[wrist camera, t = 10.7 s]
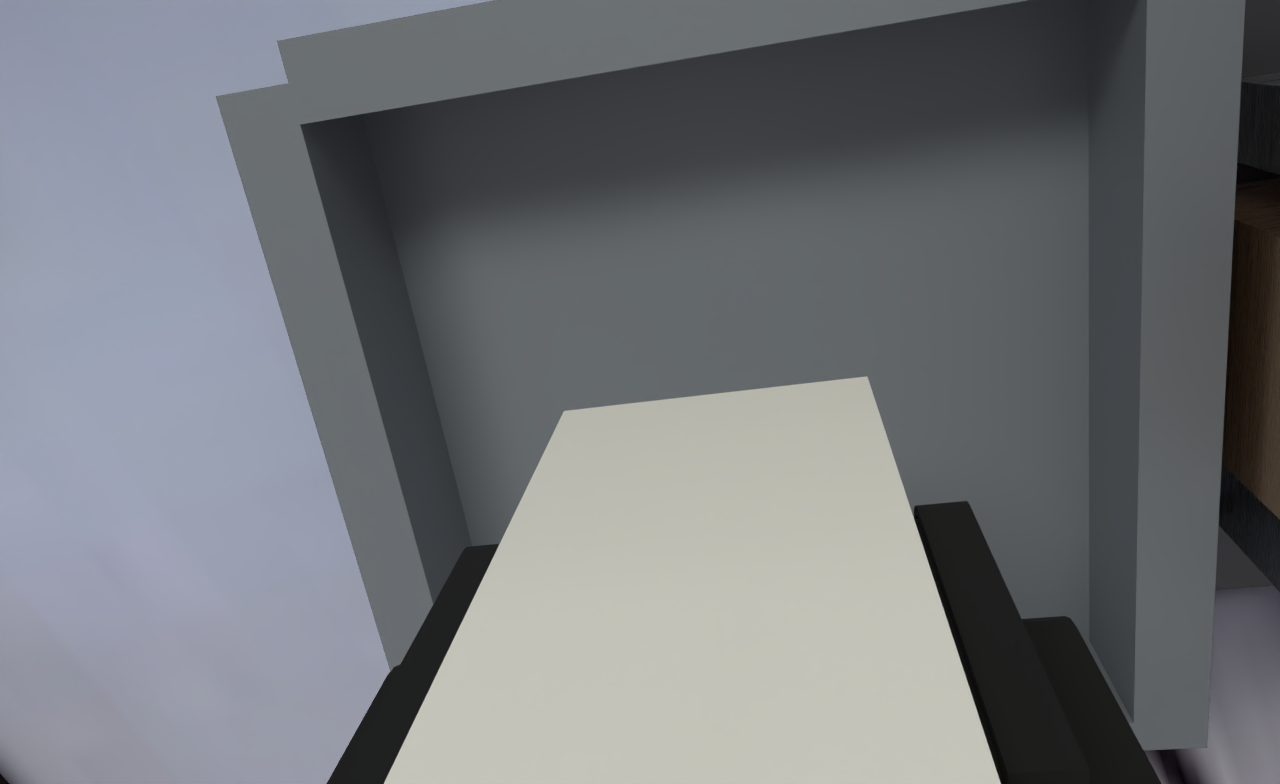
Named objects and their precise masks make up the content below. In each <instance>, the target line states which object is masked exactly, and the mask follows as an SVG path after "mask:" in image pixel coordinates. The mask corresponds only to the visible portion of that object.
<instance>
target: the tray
mask: <svg viewBox="0 0 1280 784" xmlns="http://www.w3.org/2000/svg"><path fill="white" fill-rule="evenodd" d="M1244 18H1245V0H494V1H489V2H483V3H478V4H473V5H467V6H462V7H457V8H451V9H446V10H441V11H435V12H430V13H425V14H419V15H414V16H409V17H403V18H398V19H393V20H387V21H382V22H377V23H371V24H366V25H361V26H355V27H350V28H344V29H339V30H334V31H328V32H323V33H318V34H312V35H307V36H302V37H296V38H291V39H286V40H280V41H277V43H278V47H279V50H280V54H281V57H282V61H283V65H284V68H285V72H286V75H287V79H288V84H283V85H277V86H272V87H266V88H260V89H255V90H249V91H244V92H238V93H232V94H227V95H221V96H216V99H217V102H218V105H219V109H220V112H221V115H222V118H223V122H224V125H225V128H226V132H227V135H228V138H229V141H230V145H231V148H232V151H233V155H234V158H235V161H236V164H237V168H238V171H239V174H240V178H241V181H242V184H243V188H244V191H245V194H246V197H247V201H248V204H249V207H250V211H251V214H252V217H253V220H254V224H255V227H256V230H257V234H258V237H259V240H260V243H261V247H262V250H263V253H264V257H265V260H266V263H267V266H268V270H269V273H270V276H271V280H272V283H273V286H274V290H275V293H276V296H277V299H278V303H279V306H280V309H281V313H282V316H283V319H284V322H285V326H286V329H287V332H288V336H289V339H290V342H291V345H292V349H293V352H294V355H295V359H296V362H297V365H298V368H299V372H300V375H301V378H302V382H303V385H304V388H305V392H306V395H307V398H308V401H309V405H310V408H311V411H312V415H313V418H314V421H315V424H316V428H317V431H318V434H319V438H320V441H321V444H322V447H323V451H324V454H325V457H326V461H327V464H328V467H329V471H330V474H331V477H332V480H333V484H334V487H335V490H336V494H337V497H338V500H339V503H340V507H341V510H342V513H343V517H344V520H345V523H346V526H347V530H348V533H349V536H350V540H351V543H352V546H353V549H354V553H355V556H356V559H357V563H358V566H359V569H360V573H361V576H362V579H363V582H364V586H365V589H366V592H367V596H368V599H369V602H370V605H371V609H372V612H373V615H374V619H375V622H376V625H377V628H378V632H379V635H380V638H381V642H382V645H383V648H384V651H385V655H386V658H387V661H388V665H389V668H390V671H391V670H392V669H393V668H394V667H395V666H398V665H400V664H401V662H402V660H403V659H404V657H405V655H406V653H407V651H408V650H409V648H410V646H411V644H412V642H413V640H414V639H415V637H416V635H417V633H418V631H419V630H420V628H421V626H422V624H423V622H424V620H425V619H426V617H427V615H428V613H429V611H430V610H431V608H432V606H433V604H434V602H435V600H436V599H437V597H438V595H439V593H440V591H441V590H442V588H443V586H444V584H445V582H446V580H447V579H448V577H449V575H450V573H451V571H452V570H453V568H454V566H455V564H456V562H457V560H458V559H459V557H460V555H461V553H462V551H463V550H464V549H465V548H466V547H469V546H480V545H491V544H500V542H501V540H502V538H503V536H504V534H505V532H506V530H507V528H508V526H509V524H510V522H511V519H512V517H513V515H514V513H515V511H516V509H517V507H518V505H519V503H520V501H521V499H522V497H523V495H524V493H525V491H526V488H527V486H528V484H529V482H530V480H531V478H532V476H533V474H534V472H535V470H536V468H537V466H538V464H539V462H540V459H541V457H542V455H543V453H544V451H545V449H546V447H547V445H548V443H549V441H550V439H551V437H552V435H553V433H554V431H555V428H556V426H557V424H558V422H559V420H560V418H561V416H562V414H563V412H564V411H568V410H577V409H585V408H594V407H603V406H612V405H620V404H629V403H638V402H647V401H656V400H664V399H673V398H682V397H691V396H699V395H708V394H717V393H726V392H734V391H743V390H752V389H761V388H770V387H778V386H787V385H796V384H805V383H813V382H822V381H831V380H840V379H848V378H857V377H866V376H867V377H868V380H869V383H870V386H871V389H872V392H873V395H874V398H875V401H876V404H877V407H878V410H879V413H880V417H881V420H882V423H883V426H884V429H885V432H886V435H887V438H888V441H889V444H890V447H891V450H892V453H893V456H894V459H895V462H896V465H897V468H898V471H899V475H900V478H901V481H902V484H903V487H904V490H905V493H906V496H907V499H908V502H909V505H910V508H911V511H912V514H913V517H914V507H915V506H916V505H927V504H938V503H949V502H960V501H968V503H969V504H970V506H971V509H972V511H973V513H974V515H975V517H976V520H977V522H978V524H979V526H980V528H981V531H982V533H983V535H984V537H985V539H986V542H987V544H988V546H989V548H990V550H991V553H992V555H993V557H994V559H995V561H996V564H997V566H998V568H999V570H1000V573H1001V575H1002V577H1003V579H1004V581H1005V584H1006V586H1007V588H1008V590H1009V592H1010V595H1011V597H1012V599H1013V601H1014V603H1015V606H1016V608H1017V610H1018V612H1019V614H1020V617H1021V619H1030V618H1044V617H1058V616H1067V617H1069V618H1071V620H1072V621H1073V622H1074V624H1075V625H1076V627H1077V628H1078V630H1079V632H1080V634H1081V636H1082V638H1083V639H1084V641H1085V643H1086V645H1087V647H1088V649H1089V651H1090V652H1091V654H1092V656H1093V658H1094V660H1095V662H1096V664H1097V665H1098V667H1099V669H1100V671H1101V673H1102V675H1103V676H1104V678H1105V680H1106V682H1107V684H1108V686H1109V688H1110V689H1111V691H1112V693H1113V695H1114V697H1115V699H1116V701H1117V702H1118V704H1119V706H1120V708H1121V710H1122V712H1123V714H1124V715H1125V717H1126V719H1127V721H1128V723H1129V725H1130V727H1131V728H1132V730H1133V732H1134V734H1135V736H1136V738H1137V740H1138V741H1139V743H1140V745H1141V747H1142V749H1143V750H1165V749H1187V748H1207V740H1208V720H1209V701H1210V681H1211V662H1212V642H1213V623H1214V603H1215V584H1216V564H1217V545H1218V525H1219V506H1220V486H1221V467H1222V447H1223V428H1224V408H1225V388H1226V369H1227V349H1228V330H1229V310H1230V291H1231V271H1232V252H1233V232H1234V213H1235V193H1236V174H1237V154H1238V135H1239V115H1240V96H1241V76H1242V57H1243V37H1244Z"/></svg>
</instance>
